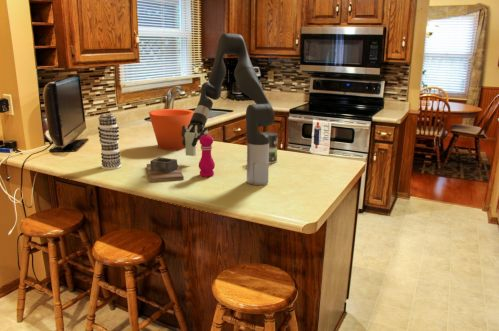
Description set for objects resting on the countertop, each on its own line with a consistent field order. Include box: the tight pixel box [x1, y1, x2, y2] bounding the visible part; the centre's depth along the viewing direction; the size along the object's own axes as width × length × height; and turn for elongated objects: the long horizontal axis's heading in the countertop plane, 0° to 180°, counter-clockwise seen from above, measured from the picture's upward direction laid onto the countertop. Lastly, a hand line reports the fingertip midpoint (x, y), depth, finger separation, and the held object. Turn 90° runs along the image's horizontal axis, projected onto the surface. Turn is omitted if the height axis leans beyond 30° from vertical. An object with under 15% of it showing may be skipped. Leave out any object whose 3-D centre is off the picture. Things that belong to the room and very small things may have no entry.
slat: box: [185, 132, 197, 157], centre depth 203 cm, size 4×2×11 cm, turn 67°
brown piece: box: [146, 157, 185, 183], centre depth 190 cm, size 14×24×6 cm, turn 17°
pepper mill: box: [198, 131, 216, 178], centre depth 186 cm, size 7×7×20 cm
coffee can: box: [259, 131, 279, 165], centre depth 211 cm, size 10×10×14 cm
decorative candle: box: [97, 113, 122, 170], centre depth 196 cm, size 9×9×25 cm
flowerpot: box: [148, 108, 195, 151], centre depth 237 cm, size 25×25×20 cm
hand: (188, 145), depth 201 cm, fingers closed on slat, 4 cm apart
